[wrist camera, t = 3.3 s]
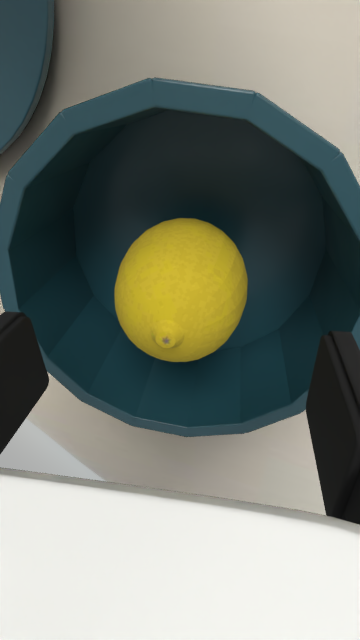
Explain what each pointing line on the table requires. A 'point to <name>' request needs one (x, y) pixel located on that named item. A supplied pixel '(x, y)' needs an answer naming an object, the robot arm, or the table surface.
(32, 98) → the lid
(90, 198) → the pot
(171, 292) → the lemon
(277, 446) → the table surface
